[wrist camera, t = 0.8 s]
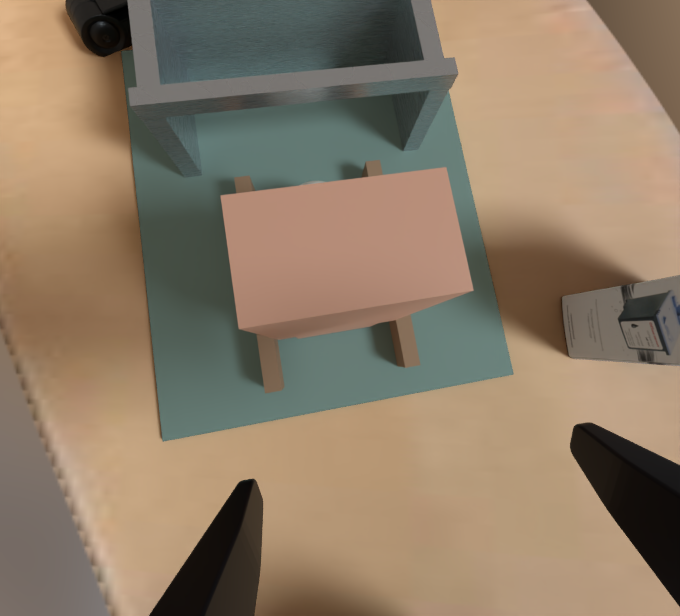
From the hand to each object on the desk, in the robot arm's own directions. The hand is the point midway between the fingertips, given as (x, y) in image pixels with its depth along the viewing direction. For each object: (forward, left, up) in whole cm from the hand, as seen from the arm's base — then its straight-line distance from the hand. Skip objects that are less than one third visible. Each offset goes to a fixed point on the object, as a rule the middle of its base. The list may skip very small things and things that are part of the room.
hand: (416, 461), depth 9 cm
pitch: (+13, +1, -13) cm, 19 cm away
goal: (+21, +1, -13) cm, 25 cm away
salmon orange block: (+6, +1, -13) cm, 15 cm away
